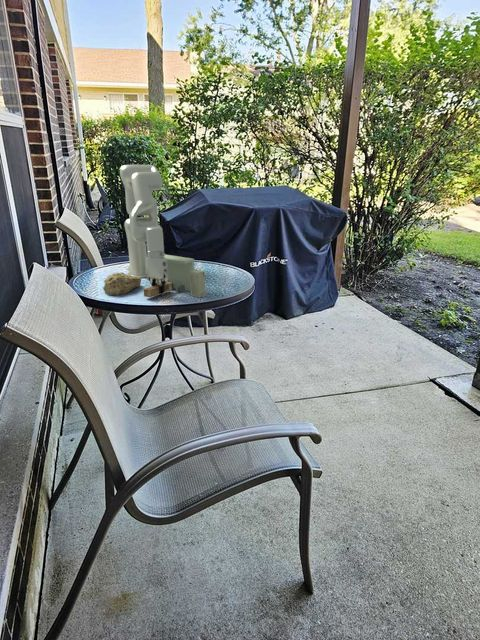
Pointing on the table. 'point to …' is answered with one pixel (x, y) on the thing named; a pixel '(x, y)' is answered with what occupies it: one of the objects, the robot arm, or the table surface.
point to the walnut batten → (156, 289)
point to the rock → (120, 283)
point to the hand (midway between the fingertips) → (158, 292)
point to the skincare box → (197, 283)
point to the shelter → (179, 272)
